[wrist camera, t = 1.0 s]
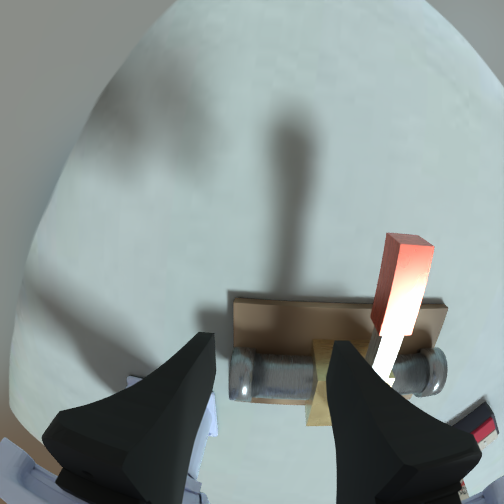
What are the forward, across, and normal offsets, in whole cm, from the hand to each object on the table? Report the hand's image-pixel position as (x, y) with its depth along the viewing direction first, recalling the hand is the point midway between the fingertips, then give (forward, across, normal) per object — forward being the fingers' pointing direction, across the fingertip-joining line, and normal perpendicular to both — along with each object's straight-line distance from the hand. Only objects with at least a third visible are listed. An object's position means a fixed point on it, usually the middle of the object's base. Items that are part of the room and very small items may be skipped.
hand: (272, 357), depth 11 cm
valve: (+10, -6, +8) cm, 15 cm away
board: (+10, -6, +8) cm, 15 cm away
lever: (+4, -6, +3) cm, 8 cm away
